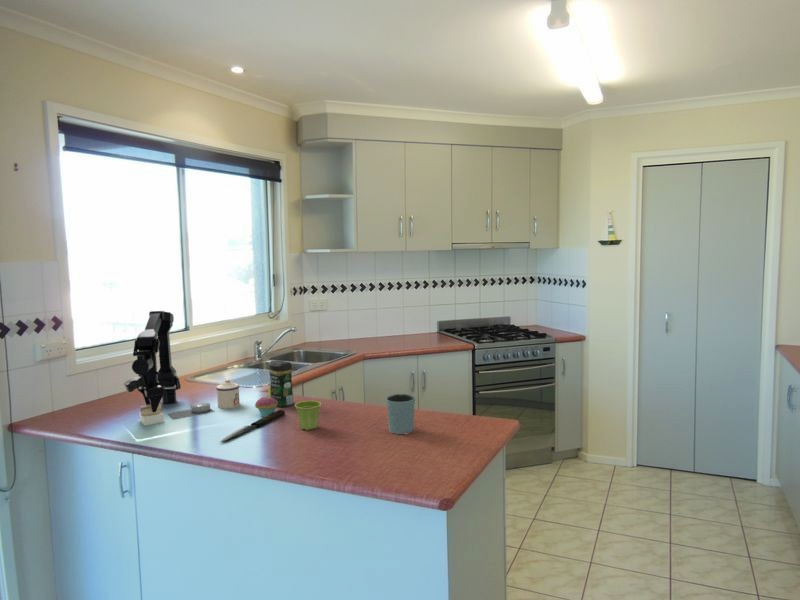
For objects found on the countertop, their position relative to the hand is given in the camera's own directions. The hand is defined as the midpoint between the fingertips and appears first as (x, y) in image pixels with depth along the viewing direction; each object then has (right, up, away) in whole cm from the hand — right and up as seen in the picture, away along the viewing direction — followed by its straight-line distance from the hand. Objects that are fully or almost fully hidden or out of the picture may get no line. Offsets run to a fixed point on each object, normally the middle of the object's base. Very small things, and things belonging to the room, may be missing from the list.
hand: (151, 409), depth 210 cm
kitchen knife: (+40, -6, -7) cm, 41 cm away
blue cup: (+94, -5, -15) cm, 96 cm away
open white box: (0, -5, 0) cm, 5 cm away
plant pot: (+61, -5, -9) cm, 62 cm away
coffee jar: (+45, -3, +23) cm, 50 cm away
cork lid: (0, -1, 0) cm, 1 cm away
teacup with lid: (+23, -3, +22) cm, 32 cm away
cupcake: (+42, -4, +8) cm, 43 cm away
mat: (+11, -4, +11) cm, 16 cm away
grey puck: (+14, -3, +13) cm, 20 cm away
